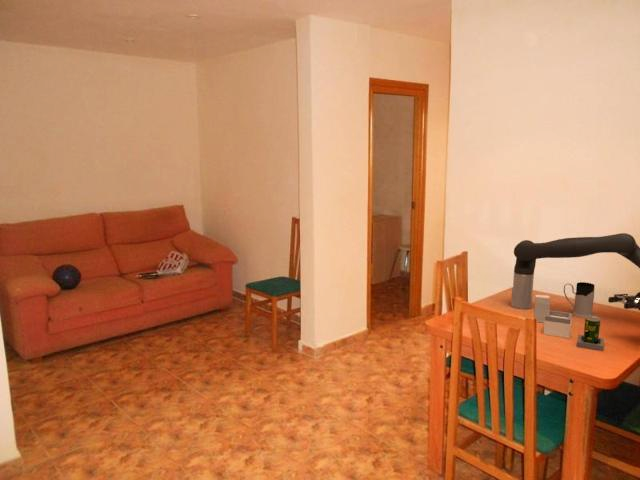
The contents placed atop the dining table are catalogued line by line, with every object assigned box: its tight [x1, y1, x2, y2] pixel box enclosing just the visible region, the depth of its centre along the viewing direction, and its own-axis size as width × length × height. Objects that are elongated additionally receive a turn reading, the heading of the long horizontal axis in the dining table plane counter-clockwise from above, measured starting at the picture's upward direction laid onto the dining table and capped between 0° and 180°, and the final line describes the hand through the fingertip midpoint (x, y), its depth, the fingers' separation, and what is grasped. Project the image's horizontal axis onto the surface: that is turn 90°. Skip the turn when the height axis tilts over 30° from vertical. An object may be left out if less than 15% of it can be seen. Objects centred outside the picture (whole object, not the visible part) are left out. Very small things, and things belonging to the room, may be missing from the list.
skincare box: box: [533, 294, 551, 324], centre depth 239 cm, size 6×4×12 cm
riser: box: [543, 309, 573, 339], centre depth 225 cm, size 10×10×8 cm
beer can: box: [582, 314, 601, 344], centre depth 211 cm, size 5×5×12 cm
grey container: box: [563, 281, 595, 319], centre depth 249 cm, size 9×14×15 cm, turn 41°
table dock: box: [576, 334, 605, 352], centre depth 212 cm, size 9×9×2 cm
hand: (616, 302), depth 210 cm, fingers open, 8 cm apart
